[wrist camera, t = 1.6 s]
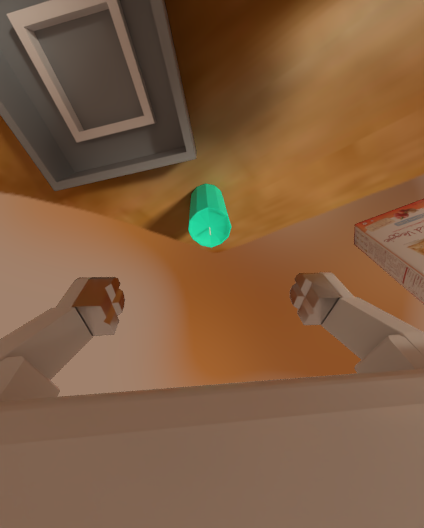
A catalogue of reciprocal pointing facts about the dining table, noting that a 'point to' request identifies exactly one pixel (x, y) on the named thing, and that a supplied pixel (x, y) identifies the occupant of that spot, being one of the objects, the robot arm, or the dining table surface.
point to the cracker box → (397, 244)
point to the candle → (208, 216)
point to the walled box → (92, 88)
